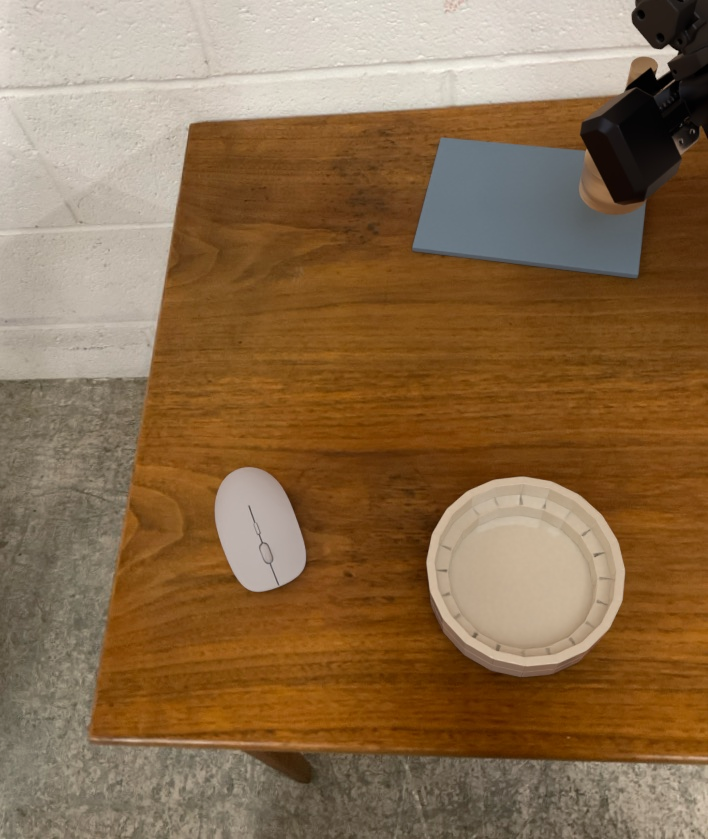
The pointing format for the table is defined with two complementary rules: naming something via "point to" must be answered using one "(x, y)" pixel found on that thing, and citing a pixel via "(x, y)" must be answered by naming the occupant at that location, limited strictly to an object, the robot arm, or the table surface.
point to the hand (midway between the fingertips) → (615, 118)
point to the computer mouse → (258, 530)
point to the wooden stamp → (590, 179)
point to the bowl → (524, 576)
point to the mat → (522, 211)
